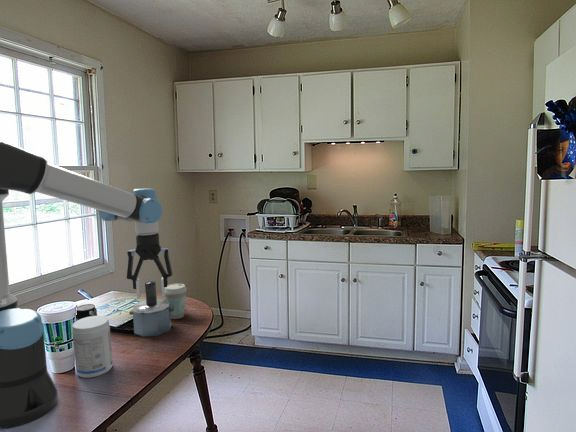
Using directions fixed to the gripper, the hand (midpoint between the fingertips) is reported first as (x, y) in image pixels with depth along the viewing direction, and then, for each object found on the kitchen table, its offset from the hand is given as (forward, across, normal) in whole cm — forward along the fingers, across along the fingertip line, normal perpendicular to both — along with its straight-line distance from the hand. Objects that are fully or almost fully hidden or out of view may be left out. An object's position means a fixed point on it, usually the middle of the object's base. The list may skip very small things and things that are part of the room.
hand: (151, 296), depth 142 cm
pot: (+12, 0, 0) cm, 12 cm away
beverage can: (+12, +20, +6) cm, 24 cm away
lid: (+4, 0, 0) cm, 4 cm away
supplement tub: (+12, +12, +27) cm, 32 cm away
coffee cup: (+12, -7, -11) cm, 18 cm away
